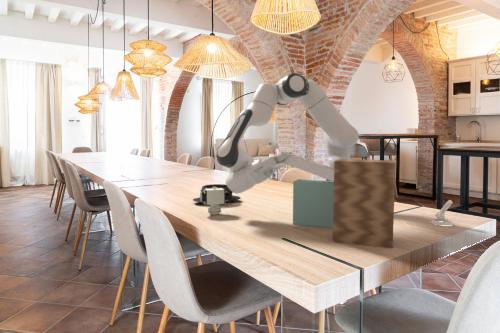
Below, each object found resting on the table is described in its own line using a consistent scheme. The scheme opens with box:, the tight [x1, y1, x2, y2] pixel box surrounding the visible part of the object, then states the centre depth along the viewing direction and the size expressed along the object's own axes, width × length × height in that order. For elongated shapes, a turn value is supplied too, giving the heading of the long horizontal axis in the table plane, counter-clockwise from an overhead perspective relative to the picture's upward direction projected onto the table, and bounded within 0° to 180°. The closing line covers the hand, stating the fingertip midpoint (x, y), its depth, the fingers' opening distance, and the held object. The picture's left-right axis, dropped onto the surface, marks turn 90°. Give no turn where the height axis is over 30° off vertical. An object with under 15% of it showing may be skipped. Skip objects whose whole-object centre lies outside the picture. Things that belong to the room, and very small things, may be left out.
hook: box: [430, 199, 454, 226], centre depth 141 cm, size 8×12×7 cm
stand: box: [332, 158, 397, 249], centre depth 120 cm, size 18×10×26 cm, turn 68°
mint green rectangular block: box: [292, 179, 334, 229], centre depth 143 cm, size 17×8×16 cm, turn 69°
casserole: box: [192, 183, 242, 204], centre depth 189 cm, size 25×19×8 cm
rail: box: [280, 150, 334, 181], centre depth 142 cm, size 28×4×4 cm, turn 67°
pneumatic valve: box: [199, 187, 229, 216], centre depth 161 cm, size 6×12×12 cm, turn 108°
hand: (290, 153), depth 145 cm, fingers closed on rail, 4 cm apart
